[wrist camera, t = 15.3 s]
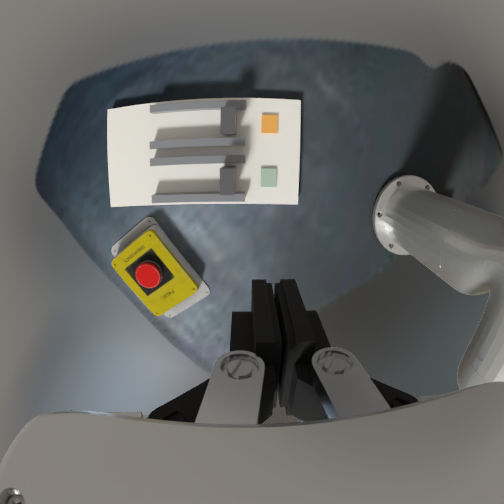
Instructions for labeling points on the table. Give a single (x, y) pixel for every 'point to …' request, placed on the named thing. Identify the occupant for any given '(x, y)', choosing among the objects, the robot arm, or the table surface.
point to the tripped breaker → (228, 121)
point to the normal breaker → (227, 180)
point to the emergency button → (157, 270)
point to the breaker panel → (203, 152)
